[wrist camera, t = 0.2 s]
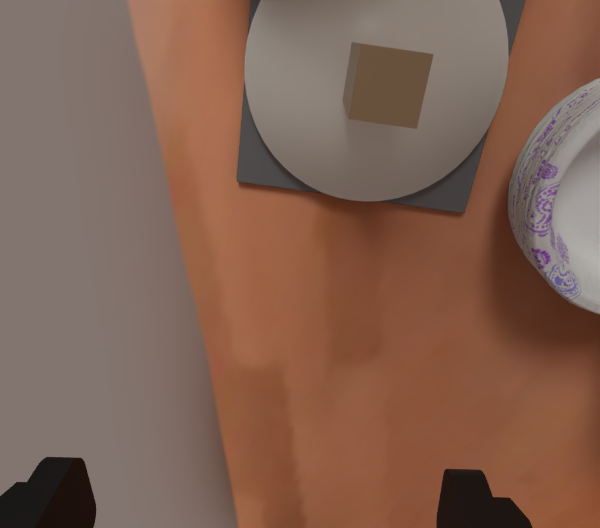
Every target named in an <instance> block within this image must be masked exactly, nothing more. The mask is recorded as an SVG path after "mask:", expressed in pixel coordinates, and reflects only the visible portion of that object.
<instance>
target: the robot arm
mask: <svg viewBox="0 0 600 528" xmlns="http://www.w3.org/2000/svg"><path fill="white" fill-rule="evenodd" d="M95 517H96V503H95V499H94V495H93V492H92V488H91V484H90V481H89V477H88V473H87V470H86V465H85V462H84V460H83V459H82V458H67V457H66V458H64V457H46V458H45V459H43V460H42V461H41V462H40V463H39V465H38V466H37V468H36V469H35V471H34V472H33V474H32V475H31V477H30V478H29V480H28V481H27V482H16V483H15V484H14V485H13V486H12V487H11V488H10V489H8V490H7V491H6V492H5V493H4V494H2V495H1V496H0V528H93V527H94V523H95ZM437 528H532V525H531V523H530V521H529V519H528V518H527V517H526V516H525V515H524V514H523V512H522V511H521V510H520V509H519V508H518V507H517V506H516V504H515V503H514V502H513V501H512V500H511V499H510V498H501V497H493V496H492V493H491V491H490V488H489V485H488V482H487V480H486V477H485V475H484V473H483V472H482V471H481V470H467V469H446V470H445V471H444V475H443V481H442V487H441V493H440V499H439V506H438V512H437Z"/></svg>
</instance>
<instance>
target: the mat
mask: <svg viewBox="0 0 600 528" xmlns="http://www.w3.org/2000/svg"><path fill="white" fill-rule="evenodd" d="M260 1H261V0H251V5H250V18H249V31H250V27H251V23H252V20H253V17H254V15H255V12H256V10H257V8H258V5H259V3H260ZM499 1H500V4H501V7H502V10H503V14H504V17H505V21H506V28H507V34H508V53H509V56H510V52H511V49H512V45H513V42H514V38H515V35H516V31H517V28H518V24H519V21H520V17H521V14H522V10H523V7H524V4H525V0H499ZM249 31H248V35H249ZM487 132H488V129H487V131H486V133H485V134H484V136H483V137H482V139H481V140H480V142H479V143H478V145H477V146H476V147H475V148H474V149H473V151H472V152H471V153H470V154H469V155H468V157H467V158H466V159H464V160H463V161H462V162H461V163H460V164H459V165H458V166H457V167H456V168H455V169H454V170H452V171H451V172H450V173H449V174H447V175H446V176H445V177H443V178H442V179H440V180H439V181H437V182H435V183H434V184H432V185H430V186H428V187H426V188H424V189H422V190H420V191H417V192H415V193H413V194H410V195H406V196H403V197H400V198H395V199H390V200H384V201H382V202H389V203H396V204H403V205H410V206H418V207H425V208H432V209H439V210H446V211H454V212H461V213H464V212H465V208H466V205H467V201H468V198H469V194H470V191H471V187H472V184H473V181H474V177H475V174H476V170H477V167H478V163H479V160H480V156H481V153H482V149H483V146H484V142H485V139H486V135H487ZM237 181H238V182H245V183H252V184H259V185H266V186H274V187H281V188H288V189H295V190H302V191H310V192H317V193H322V192H320V191H318V190H316V189H314V188H312V187H310V186H308V185H307V184H305V183H304V182H302V181H301V180H299V179H298V178H296V177H295V176H294V175H292V174H291V173H290V172H289V171H288V170H287V169H286V168H284V167H283V166H282V164H281V163H280V162H279V161H278V160H277V159H276V158H275V157H274V155H273V154H272V153H271V151H270V150H269V148H268V147H267V145H266V144H265V143H264V141H263V139H262V137H261V135H260V133H259V131H258V129H257V127H256V125H255V122H254V119H253V117H252V114H251V111H250V107H249V103H248V99H247V94H246V86H245V82H244V94H243V107H242V120H241V133H240V146H239V158H238V171H237ZM324 194H325V193H324Z"/></svg>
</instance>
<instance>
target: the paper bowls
mask: <svg viewBox="0 0 600 528" xmlns="http://www.w3.org/2000/svg"><path fill="white" fill-rule="evenodd" d="M508 215H509V220H510V224H511V229H512V231H513V235H514V237H515V239H516V242H517V244H518V245H519V246H520V249H521V250H522V251H523V253H524V255H525V256H526V258H527V259H528V260H529V262H530V263H531V264H532V265H533V266H534V268H535V269H536V270H537V271H538V272H539V273H540V275H541V276H542V277H543V278H544V279H545V280H546V281H547V282H548V284H549V285H550V286H551V287H552V288H553V289H554V290H555V291H556V292H557V293H558V294H560V295H561V296H562V297H563V298H564V299H566V300H567V301H569V302H570V303H572V304H574V305H576V306H578V307H580V308H583V309H585V310H587V311H590V312H593V313H596V314H600V78H598V79H595V80H594V81H592V82H590V83H588V84H586V85H584V86H582V87H580V88H579V89H577V90H576V91H574V92H573V93H571V94H570V95H569V96H567V97H566V98H564V99H563V100H561V101H560V102H559V103H558V104H556V105H555V106H554V107H553V108H552V109H551V110H550V111H549V112H548V113H547V115H546V116H545V117H544V118H543V119H542V120H541V121H540V122H539V123H538V124H537V126H536V127H535V128H534V130H533V131H532V133H531V135H530V136H529V138H528V140H527V142H526V144H525V145H524V147H523V149H522V151H521V153H520V155H519V156H518V159H517V161H516V164H515V167H514V170H513V176H512V178H511V180H510V185H509V196H508Z"/></svg>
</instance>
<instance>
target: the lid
mask: <svg viewBox="0 0 600 528" xmlns="http://www.w3.org/2000/svg"><path fill="white" fill-rule="evenodd" d="M508 59H509V53H508V34H507V28H506V21H505V17H504V14H503V10H502V7H501V4H500V1H499V0H261V1H260V3H259V5H258V8H257V10H256V12H255V15H254V17H253V20H252V23H251V27H250V31H249V35H248V38H247V45H246V52H245V73H244V76H245V86H246V94H247V99H248V103H249V107H250V111H251V114H252V117H253V119H254V122H255V125H256V127H257V129H258V131H259V133H260V135H261V137H262V139H263V141H264V143H265V144H266V145H267V147H268V148H269V150H270V151H271V153H272V154H273V155H274V157H275V158H276V159H277V160H278V161H279V162H280V163H281V164H282V166H283V167H284V168H286V169H287V170H288V171H289V172H290V173H291V174H292V175H294V176H295V177H296V178H298V179H299V180H301V181H302V182H304V183H305V184H307V185H308V186H310V187H312V188H314V189H316V190H318V191H320V192H322V193H325V194H328V195H331V196H334V197H337V198H342V199H347V200H352V201H366V202H368V201H384V200H390V199H395V198H400V197H403V196H406V195H410V194H413V193H415V192H417V191H420V190H422V189H424V188H426V187H428V186H430V185H432V184H434V183H435V182H437V181H439V180H440V179H442V178H443V177H445V176H446V175H447V174H449V173H450V172H451V171H452V170H454V169H455V168H456V167H457V166H458V165H459V164H460V163H461V162H462V161H463V160H464V159H466V158H467V157H468V155H469V154H470V153H471V152H472V151H473V149H474V148H475V147H476V146H477V145H478V143H479V142H480V140H481V139H482V137H483V136H484V134H485V133H486V131H487V129H488V128H489V126H490V124H491V122H492V120H493V118H494V116H495V114H496V112H497V109H498V106H499V103H500V100H501V98H502V95H503V90H504V86H505V82H506V77H507V69H508Z"/></svg>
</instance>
